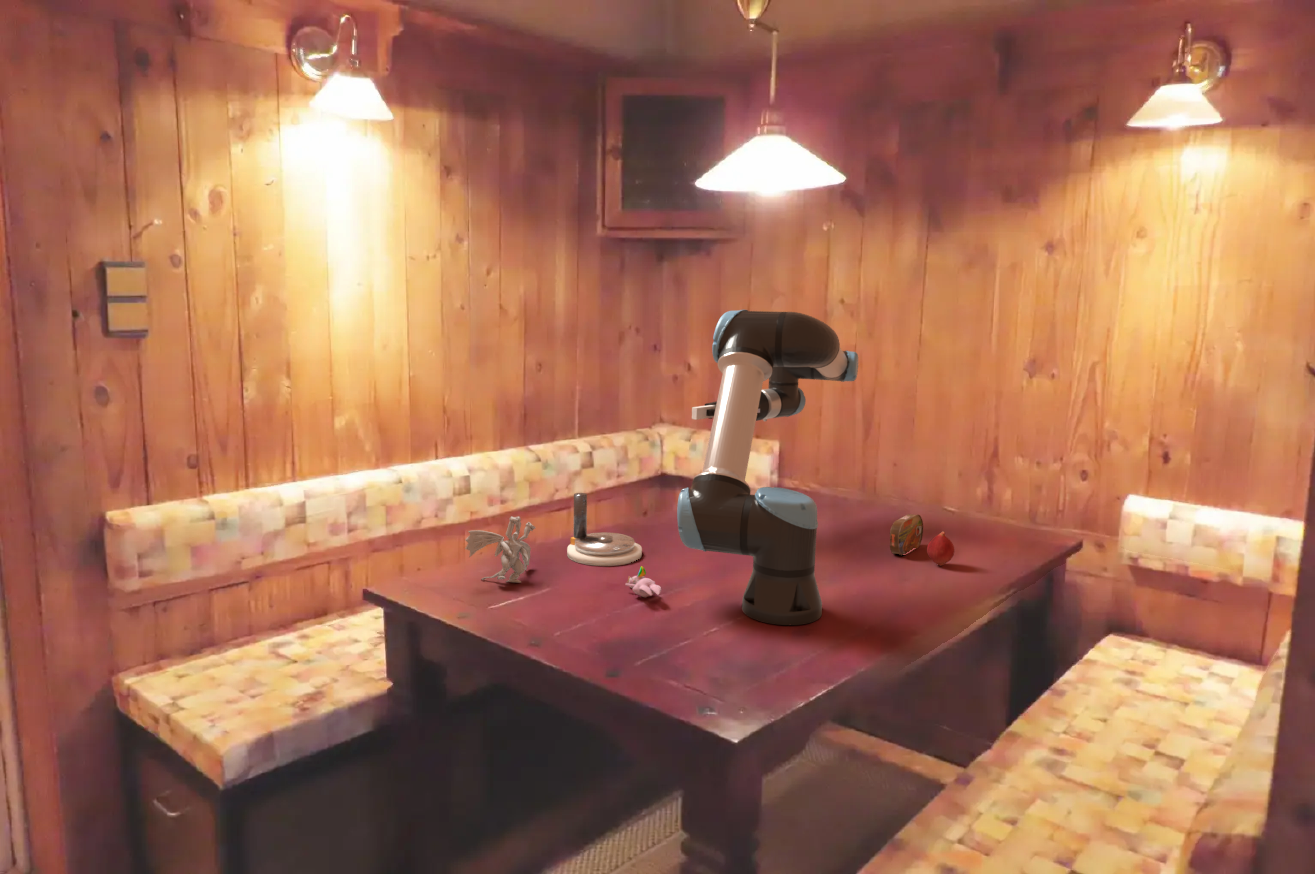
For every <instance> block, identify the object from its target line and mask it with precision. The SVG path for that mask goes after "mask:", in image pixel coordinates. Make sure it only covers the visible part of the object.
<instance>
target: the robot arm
mask: <svg viewBox="0 0 1315 874" xmlns="http://www.w3.org/2000/svg"><path fill="white" fill-rule="evenodd" d="M717 321H718V322H717V323H716V326H715V328H714V331H713V332H714V333H713V337H712V339H713V343H712V347H711V350H712V352H711V353H712V357H713V360H714V362H715V363H717V369H718V370H719V372H720V373H721V375H722V376H721V381H720V385H719V390H718V395H717V400H716V401H712V402H706V403H704V405H699V406H693V407H691V420H696V421H697V420H703V419H710V420H711V419H713V420H712V424H711V429H710V434H709V439H708V443H707V449H706V453H705V459H704V462H703V463H704V464H703V468H702V472H700V473H698V474H696V475H694V477H693V479H692V483H691V487H685V488H682V489H681V490H680V492H679V494H678V498H677V499H678V500H677V505H676V506H677V510H676V511H677V512H676V517H677V519H676V520H677V528H678V529H677V530H678V535H679V537H680V541H681V543H683V545H684V546H685V547H687V548H688V549H693V550H699V551H703V552H715V553H724V554H732V555H739V556H750V557H752V561H753V563H752V572H751V575H750V577H749V580H748V582H747V585H746V588H745V591H744V593H743V596H742V601H741V602H742V603H741V604H742V606H741V610H742V612H743V614H744V615H746V616H747V617H748V618H751V619H753V620H755V621H757V622H762V623H766V624H771V625H777V626H802V625H806V624H811V623H813V622H816V621H818V620H819V619H820V618H821V617H822V616H823V615H822V613H823V610H822V609H823V602H822V598H821V595H820V591H819V587H818V584H817V580H816V577H815V567H816V566H815V565H816V550H817V549H816V547H817V529H818V527H819V522H818V507H817V503H816V502H815V501H814V499H813V498H811V496H808V495H807V494H805V493H802V492H800V491H796V490H792V489H790V488H789V489H788V488H784V487H779V486H778V487H777V486H774V487H771V486H763V487H760V488H757V490H756V492H755V494H751V493H752V490H751V486H750V485H749V484H748V483H747V481H746V476H747V470H748V464H749V460H750V455H751V449H752V445H753V444H752V443H753V439H754V433H755V428H756V423H757V421H761V420H762V421H763V422H767V421H768V419H776V418H785V417H786V418H788V417H791V416H795V415H798V414H799V413H802V411H803V410H804V408H805V406H806V396H805V392H804V391H803V390H802V388H800V387H799V379H800V380H813V381H814V380H818V381H833V382H840V383H841V382H842V383H843V382H855V380H856V379H857V378H858V372H859V354H858V353H857V352H856V351H849V350H842V348H841V346H840V338H839V336H838V335H837V333H836V331H835V330H834V329H833V328H832V327H831V326H830V325H829V324H827V323H826V322H824V321H822V320H820V319H818V318H815V317H814V316H810V315H809V314H805V313H801V312H796V311H764V310H762V311H761V310H760V311H757V310H756V311H755V310H749V309H739V310H738V309H737V310H728V311H726V312H724V313H723V314H722V315H721V316H720V318H719V319H718V320H717ZM767 380H768V384H767V385H768V388H763V385H764V384H763V383H764V382H765V381H767Z"/></svg>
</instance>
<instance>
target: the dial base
mask: <svg viewBox="0 0 1315 874" xmlns="http://www.w3.org/2000/svg"><path fill="white" fill-rule="evenodd" d="M575 539H576V538H574V535H573V536H572V537H570V540H569V541H570V542H569V544H568V546H567V547H566V551H567V552H566V553H567V554H566V555H567V558H568V559H569V560H571V561H572V562H575V563H578V564H581V565H587V566H592V567H593V566H595V567H596V566H597V567H598V566H599V567H613V566H615V567H616V566H622V565H627V564H632V563H635V562H636V560H637V561H638V559H639V560H640V559H641V558H642V555H643V554H642V552H643V548H642V545H640V544H639V543H636V542H635V545H634V549H633V550H632V551H631V552H628V553H625V554H621V555H614V556H597V555H589V554H584V553H581V552H579V551H577V550H576V549H575ZM634 561H635V562H634ZM631 562H632V563H631Z"/></svg>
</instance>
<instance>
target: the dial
mask: <svg viewBox="0 0 1315 874" xmlns="http://www.w3.org/2000/svg"><path fill="white" fill-rule="evenodd" d="M587 516H588V494H587V493H585V492H576V493H575V492H574V494H573V536H574V538H576V539H575V549H576V550H577V551H579V552H581V553H584V554H589V555H597V556H614V555H621V554H625V553H628V552H631V551H632V550H633V549H634V545H635V543H636V541H635V539H634V538H633V536H632V537H631V536H630V535H627V534H622V533H618V532H604V531H603V532H592V533H588V531H587V529H588V525H587V523H588V521H587V520H588V519H587V518H588V517H587Z"/></svg>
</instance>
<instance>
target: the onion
mask: <svg viewBox="0 0 1315 874" xmlns="http://www.w3.org/2000/svg"><path fill="white" fill-rule="evenodd" d="M926 553H927V556H928V557H929V558H930V560H931V561H932V562H934V563H935V564H936V565H937V564H938V565H942V566H944V565H945V564H947V563H948V562H949V561H950V560H952V559H953V557H954V556H955V546H954V543H953V542H952V541H951V539H950V538H949V537H948V536H947V535H946V532H945V531H941V532H940V533H938V534H937V535H936V536H934V537H932V539H931V540H930V541H929V542H928V544H927V548H926ZM938 565H937V566H938Z"/></svg>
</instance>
